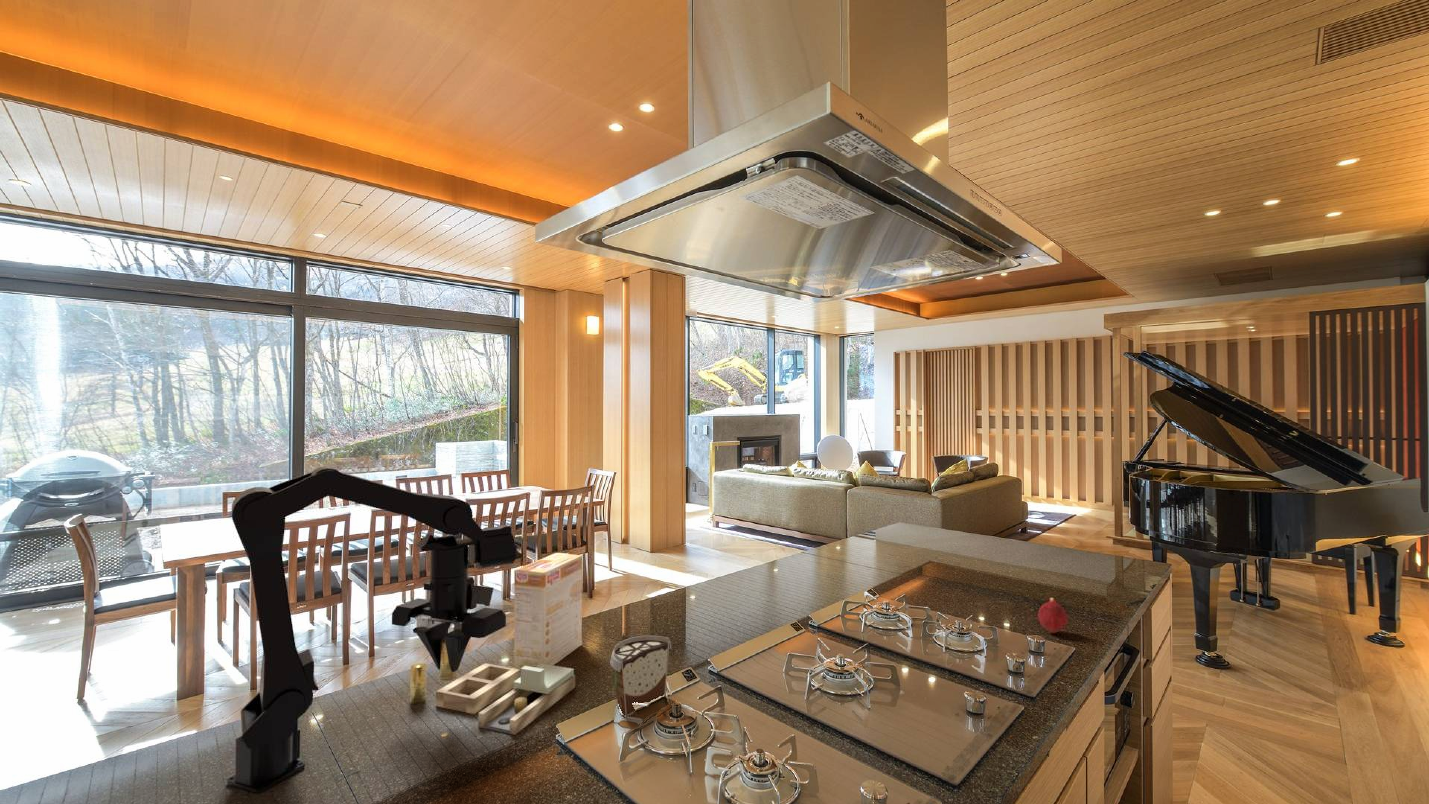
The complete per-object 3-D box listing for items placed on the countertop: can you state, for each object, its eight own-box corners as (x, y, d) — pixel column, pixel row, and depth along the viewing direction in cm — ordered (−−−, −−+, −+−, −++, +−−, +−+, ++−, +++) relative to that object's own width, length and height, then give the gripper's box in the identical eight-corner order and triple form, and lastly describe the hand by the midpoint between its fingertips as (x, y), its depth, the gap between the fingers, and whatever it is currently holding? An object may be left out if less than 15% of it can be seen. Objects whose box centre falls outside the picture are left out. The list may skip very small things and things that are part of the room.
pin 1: (417, 704, 101) (418, 669, 101) (406, 702, 102) (407, 667, 102) (428, 698, 104) (429, 664, 104) (418, 696, 104) (418, 662, 104)
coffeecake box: (554, 641, 130) (555, 552, 130) (583, 645, 128) (584, 554, 128) (511, 669, 115) (512, 569, 116) (543, 674, 113) (544, 572, 114)
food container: (647, 683, 110) (647, 629, 110) (671, 693, 106) (671, 637, 106) (594, 709, 100) (595, 649, 100) (618, 721, 96) (619, 659, 96)
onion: (1072, 638, 133) (1072, 602, 133) (1046, 637, 133) (1046, 602, 133) (1058, 628, 138) (1058, 594, 139) (1033, 628, 139) (1033, 594, 139)
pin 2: (448, 681, 95) (448, 644, 95) (436, 679, 96) (437, 642, 96) (459, 675, 97) (459, 638, 98) (447, 673, 98) (448, 637, 98)
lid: (547, 694, 100) (547, 673, 100) (513, 687, 102) (513, 667, 102) (573, 674, 108) (573, 655, 108) (541, 668, 110) (541, 649, 110)
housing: (514, 734, 92) (515, 720, 92) (478, 726, 94) (478, 713, 94) (575, 687, 108) (575, 675, 108) (542, 681, 110) (542, 669, 110)
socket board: (474, 714, 98) (474, 698, 98) (436, 706, 101) (436, 691, 101) (520, 683, 110) (520, 669, 110) (484, 676, 112) (485, 663, 112)
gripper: (527, 567, 101) (526, 658, 101) (441, 557, 108) (440, 644, 107) (482, 584, 91) (481, 686, 91) (389, 573, 97) (388, 669, 97)
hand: (448, 669), depth 97 cm, fingers closed on pin 2, 2 cm apart
